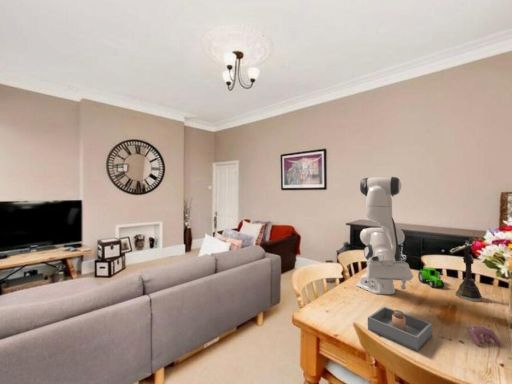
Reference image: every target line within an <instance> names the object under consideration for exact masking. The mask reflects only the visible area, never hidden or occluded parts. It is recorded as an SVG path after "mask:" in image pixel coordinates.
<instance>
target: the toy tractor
mask: <svg viewBox="0 0 512 384" xmlns="http://www.w3.org/2000/svg"><path fill="white" fill-rule="evenodd" d="M417 278H418V280H419V282H420V283H422V284H423V283H424V284H425V283H426V282H428V284H429V287H430V288H435V286H438V288H441V289H442V288H444V287H445V284H444V281H443V279H441V278H442V277H441V273H440V271H437V270H436V269H435V268H434V267H427V266H426V267H423V269H421V268H420V270H419V271H418V274H417Z"/></svg>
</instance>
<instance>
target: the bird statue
mask: <svg viewBox="0 0 512 384" xmlns="http://www.w3.org/2000/svg"><path fill="white" fill-rule="evenodd" d="M474 240H475V238H474V237H471V238H469V239H468V242H467V241H465V243H464V244H463V245H462V246H460V245H459V246H457V247H455V248H452V249H450V250H449V256H452V255H453V254H456V253H458V252H460V251H463V254H464V256H463V257H462V260H463V263H464V264H465V270H464V271H465V277H463V281H462V282H461V283H460V285H459V287H458V289H457V290H456V291H455V296H456V297H458V298H460V299H461V300H466V301H469V302H479V303H480V302H482V300H483V296H482V294H481V292H480V289H479V288H478V286H477V284H476V282H475V279H473V278H472V272H473V270H472V265H473V264H474V261H475V259H474V258H473V255H472V254H471V253H470V251H471V250H473V249H471V246H472V243H473V242H474ZM473 244H474V243H473Z"/></svg>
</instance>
